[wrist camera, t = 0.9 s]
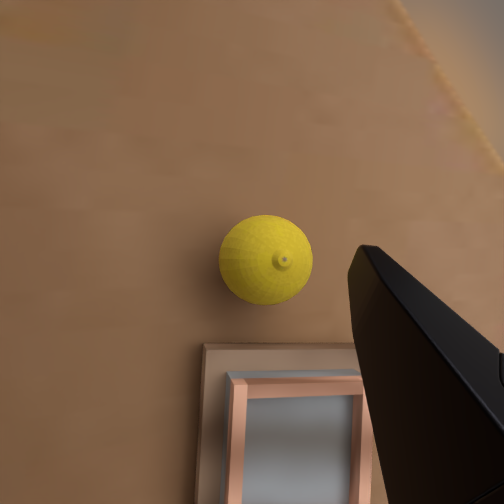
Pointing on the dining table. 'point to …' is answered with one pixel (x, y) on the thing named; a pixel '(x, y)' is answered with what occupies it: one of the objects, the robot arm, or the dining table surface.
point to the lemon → (265, 260)
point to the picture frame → (283, 425)
